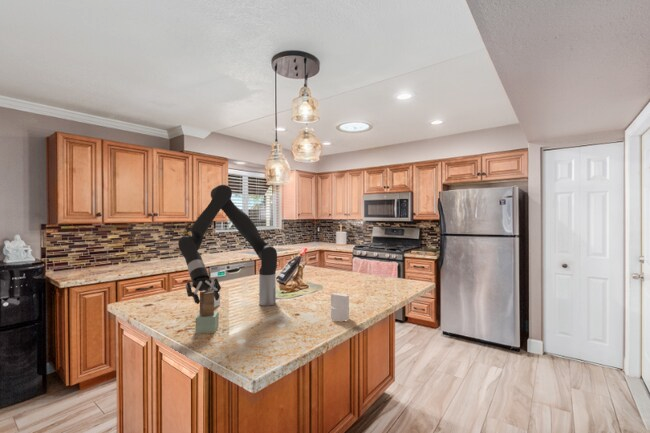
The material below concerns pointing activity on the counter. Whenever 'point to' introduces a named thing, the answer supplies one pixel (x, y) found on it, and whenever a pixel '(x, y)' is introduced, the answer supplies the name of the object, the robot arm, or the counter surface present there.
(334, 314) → the light grey block
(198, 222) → the robot arm
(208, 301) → the walnut block
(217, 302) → the medicine bottle
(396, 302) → the counter surface
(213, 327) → the sage slab lower
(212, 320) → the sage slab upper
